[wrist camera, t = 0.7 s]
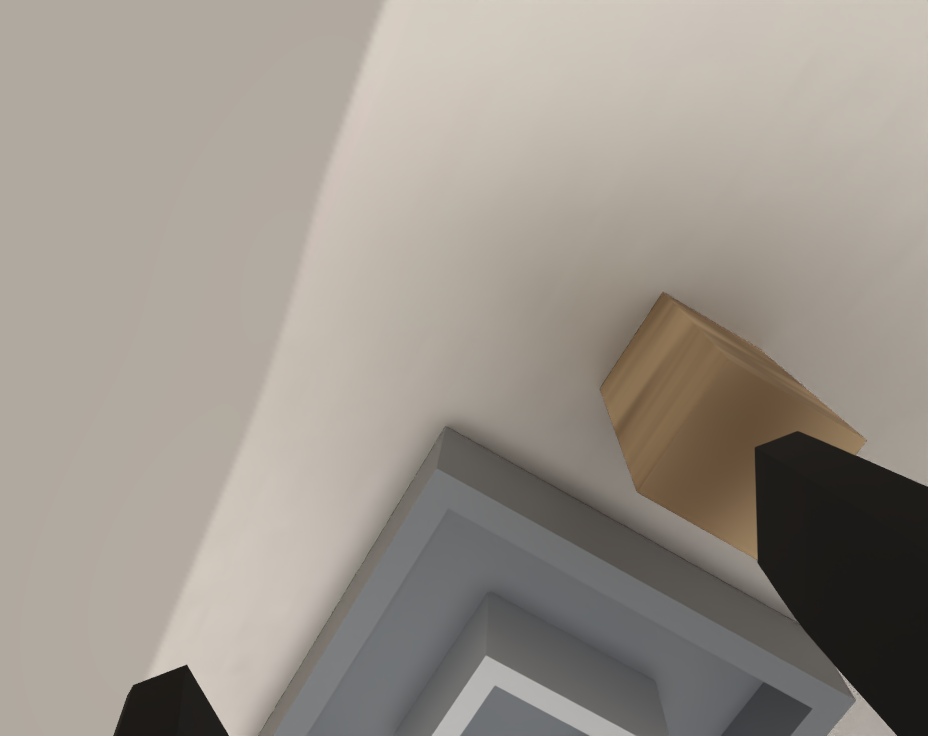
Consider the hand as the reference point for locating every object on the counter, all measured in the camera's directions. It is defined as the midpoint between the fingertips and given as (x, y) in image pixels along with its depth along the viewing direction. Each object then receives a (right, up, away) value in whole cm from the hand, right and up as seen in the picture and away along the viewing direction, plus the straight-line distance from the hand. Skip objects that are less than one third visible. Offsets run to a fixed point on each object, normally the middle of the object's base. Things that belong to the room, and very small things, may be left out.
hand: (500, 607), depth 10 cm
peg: (+7, +3, +19) cm, 21 cm away
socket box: (+2, -10, +23) cm, 25 cm away
